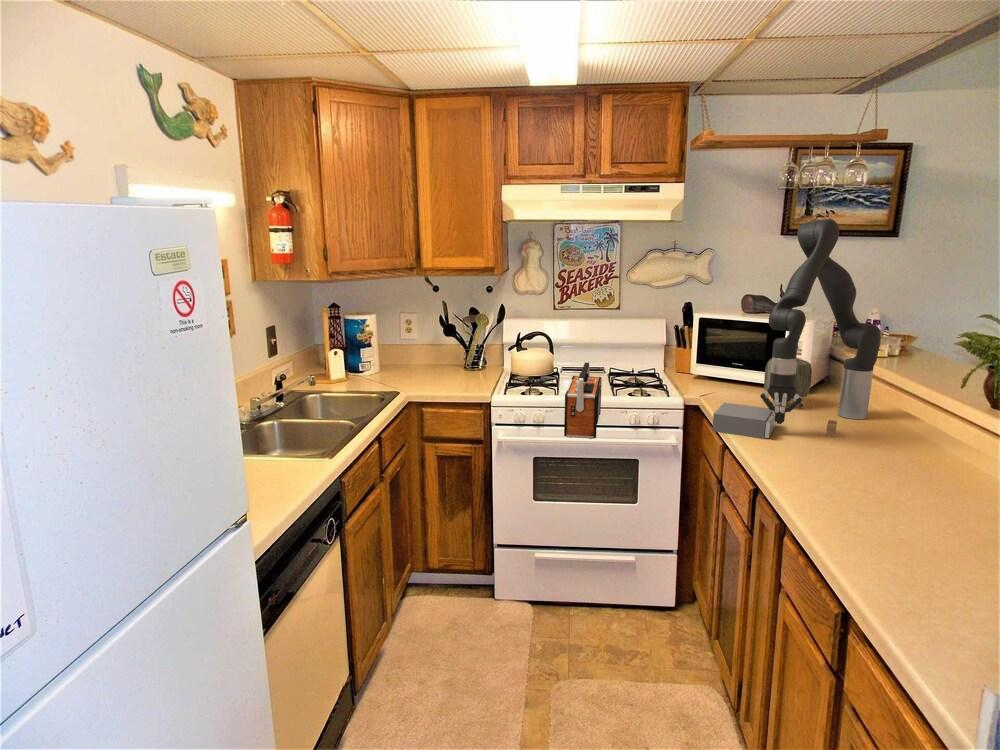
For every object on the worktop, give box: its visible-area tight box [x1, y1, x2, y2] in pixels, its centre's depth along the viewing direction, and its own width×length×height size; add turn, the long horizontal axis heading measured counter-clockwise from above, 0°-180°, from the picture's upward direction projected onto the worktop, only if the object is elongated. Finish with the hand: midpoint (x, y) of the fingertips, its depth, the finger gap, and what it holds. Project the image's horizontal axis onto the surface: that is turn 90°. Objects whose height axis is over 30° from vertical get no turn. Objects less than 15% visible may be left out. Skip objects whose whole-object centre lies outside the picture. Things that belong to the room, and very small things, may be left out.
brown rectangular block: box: [825, 419, 838, 438], centre depth 209 cm, size 6×2×4 cm, turn 149°
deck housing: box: [711, 402, 773, 440], centre depth 215 cm, size 16×16×6 cm
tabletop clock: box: [763, 345, 813, 409], centre depth 241 cm, size 14×9×25 cm, turn 26°
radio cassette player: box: [563, 361, 603, 440], centre depth 214 cm, size 29×10×20 cm, turn 168°
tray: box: [764, 411, 777, 439], centre depth 214 cm, size 16×16×5 cm
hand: (779, 423), depth 209 cm, fingers closed
